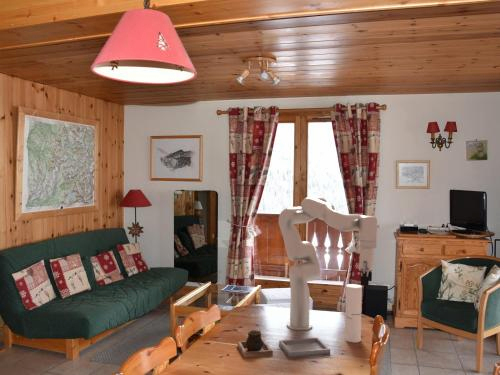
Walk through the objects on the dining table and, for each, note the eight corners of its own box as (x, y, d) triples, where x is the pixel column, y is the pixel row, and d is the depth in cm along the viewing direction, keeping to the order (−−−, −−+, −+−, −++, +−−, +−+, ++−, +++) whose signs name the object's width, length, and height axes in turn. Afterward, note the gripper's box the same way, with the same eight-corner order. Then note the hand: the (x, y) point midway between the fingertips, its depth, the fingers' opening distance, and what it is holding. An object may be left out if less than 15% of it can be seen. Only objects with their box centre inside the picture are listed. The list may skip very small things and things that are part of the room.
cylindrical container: (361, 343, 204) (362, 288, 204) (344, 341, 206) (346, 287, 205) (360, 337, 211) (361, 284, 211) (344, 336, 213) (345, 283, 212)
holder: (237, 346, 198) (237, 341, 198) (263, 344, 201) (264, 339, 201) (244, 357, 185) (244, 352, 185) (272, 355, 188) (272, 350, 188)
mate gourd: (254, 346, 198) (254, 323, 198) (266, 351, 193) (267, 328, 193) (242, 350, 193) (242, 327, 193) (254, 355, 188) (255, 331, 187)
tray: (279, 346, 199) (279, 340, 199) (317, 343, 203) (317, 337, 203) (289, 358, 185) (289, 352, 185) (330, 355, 190) (330, 349, 189)
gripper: (361, 241, 206) (360, 278, 207) (355, 246, 190) (354, 286, 191) (378, 242, 204) (377, 280, 204) (373, 247, 188) (372, 288, 188)
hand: (366, 283), depth 197 cm, fingers open, 9 cm apart
